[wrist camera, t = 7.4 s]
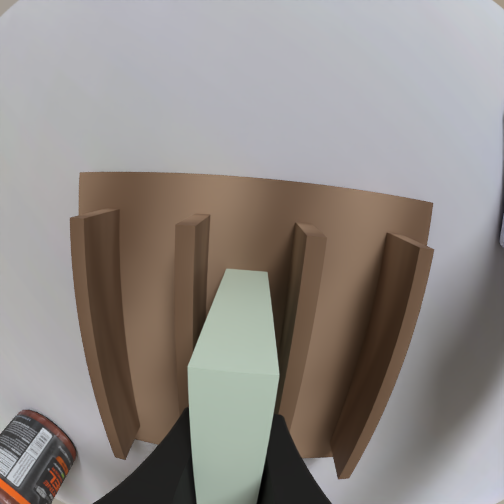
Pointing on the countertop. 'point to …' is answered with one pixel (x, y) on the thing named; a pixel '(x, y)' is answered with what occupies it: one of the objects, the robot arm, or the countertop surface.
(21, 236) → the countertop surface
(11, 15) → the countertop surface
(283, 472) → the robot arm
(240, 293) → the pale green flat block
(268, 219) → the dish rack
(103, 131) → the countertop surface
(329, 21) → the countertop surface
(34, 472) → the supplement bottle
